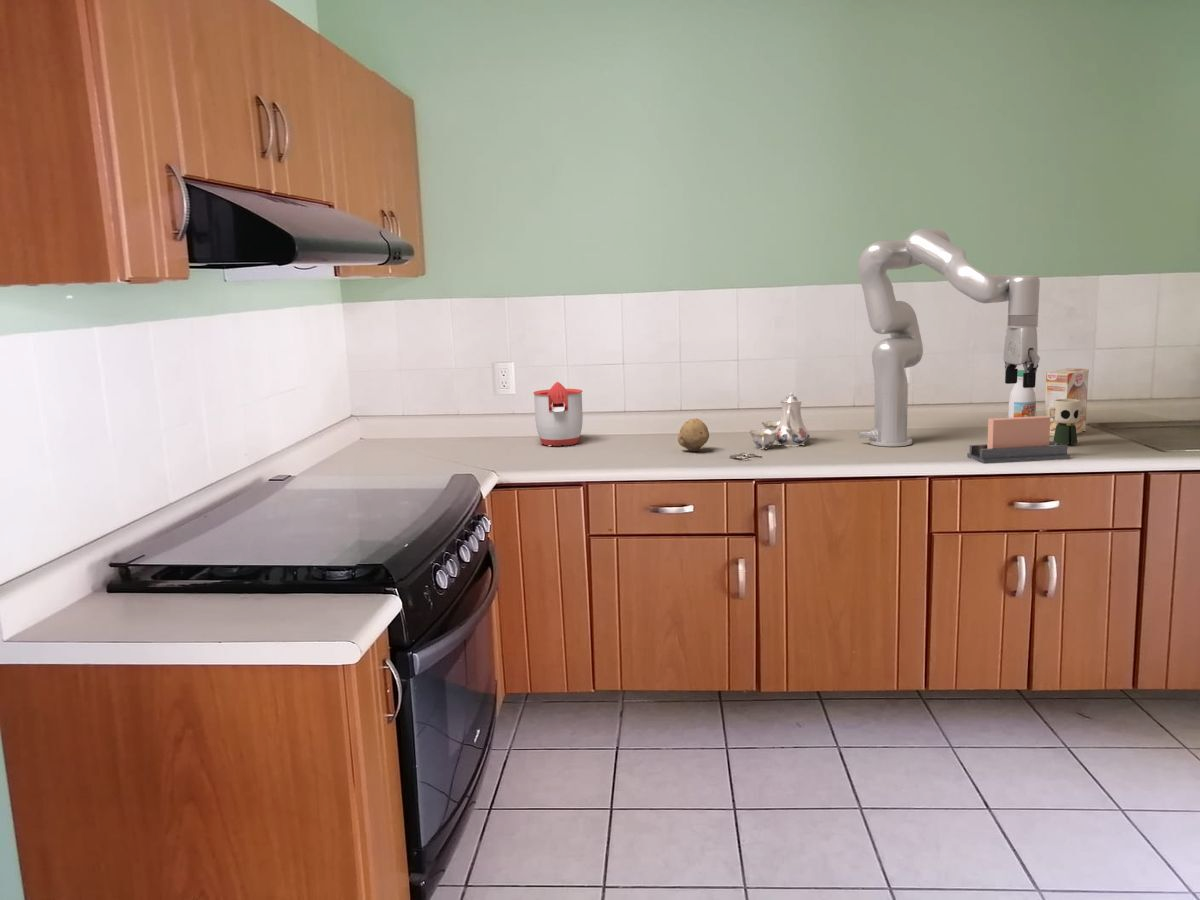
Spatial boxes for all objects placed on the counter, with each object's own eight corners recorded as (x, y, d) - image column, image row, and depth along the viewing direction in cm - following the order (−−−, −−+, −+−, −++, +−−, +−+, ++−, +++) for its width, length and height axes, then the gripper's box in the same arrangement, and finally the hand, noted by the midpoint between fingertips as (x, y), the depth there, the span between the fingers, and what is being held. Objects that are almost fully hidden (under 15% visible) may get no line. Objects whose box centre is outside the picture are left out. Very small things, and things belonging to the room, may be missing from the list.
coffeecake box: (1065, 438, 308) (1068, 373, 305) (1042, 435, 313) (1044, 372, 310) (1086, 431, 318) (1089, 368, 315) (1063, 429, 323) (1066, 367, 320)
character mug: (1051, 447, 294) (1053, 402, 291) (1040, 443, 301) (1042, 399, 298) (1089, 446, 294) (1091, 401, 291) (1078, 442, 301) (1080, 397, 298)
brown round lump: (716, 452, 305) (715, 418, 303) (691, 455, 301) (690, 422, 299) (698, 448, 313) (697, 415, 311) (674, 451, 309) (673, 418, 307)
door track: (983, 463, 275) (984, 450, 274) (967, 456, 284) (967, 444, 284) (1069, 458, 277) (1070, 446, 276) (1050, 452, 286) (1050, 440, 286)
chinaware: (761, 441, 331) (756, 390, 328) (814, 436, 326) (808, 384, 323) (749, 457, 304) (743, 401, 302) (806, 452, 299) (800, 396, 297)
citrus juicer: (534, 450, 319) (531, 386, 316) (536, 440, 336) (533, 380, 333) (585, 448, 320) (582, 384, 316) (584, 439, 337) (581, 378, 333)
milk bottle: (1003, 436, 314) (1005, 371, 311) (1013, 432, 320) (1016, 368, 316) (1028, 438, 309) (1030, 372, 306) (1038, 435, 314) (1041, 369, 311)
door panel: (992, 456, 278) (993, 420, 276) (987, 454, 281) (988, 418, 279) (1048, 453, 280) (1050, 417, 278) (1043, 451, 282) (1044, 415, 281)
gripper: (993, 320, 282) (991, 382, 285) (1025, 324, 265) (1022, 389, 268) (1020, 319, 283) (1017, 381, 286) (1053, 323, 266) (1049, 388, 269)
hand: (1019, 385), depth 277 cm, fingers open, 9 cm apart
